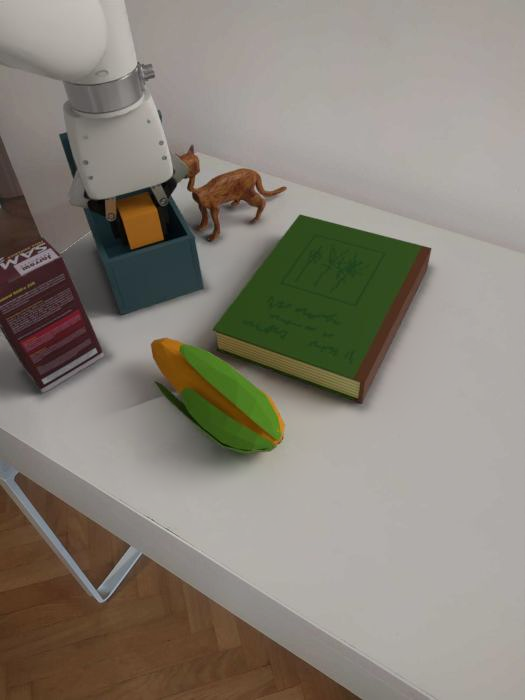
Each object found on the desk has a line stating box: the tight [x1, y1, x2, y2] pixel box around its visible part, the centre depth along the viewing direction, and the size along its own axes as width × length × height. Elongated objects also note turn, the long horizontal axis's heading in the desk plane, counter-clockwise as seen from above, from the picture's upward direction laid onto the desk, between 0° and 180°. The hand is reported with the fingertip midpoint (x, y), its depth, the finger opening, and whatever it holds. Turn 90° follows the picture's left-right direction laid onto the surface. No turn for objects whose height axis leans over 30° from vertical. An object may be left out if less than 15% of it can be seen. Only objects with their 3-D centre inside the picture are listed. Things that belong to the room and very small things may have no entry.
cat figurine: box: [173, 144, 288, 242], centre depth 82 cm, size 18×7×14 cm, turn 127°
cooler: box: [82, 187, 204, 316], centre depth 77 cm, size 14×11×9 cm
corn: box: [150, 337, 286, 454], centre depth 61 cm, size 7×8×20 cm
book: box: [211, 214, 433, 404], centre depth 72 cm, size 25×19×4 cm
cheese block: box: [116, 192, 164, 249], centre depth 70 cm, size 4×4×4 cm
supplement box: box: [0, 236, 105, 394], centre depth 63 cm, size 9×5×16 cm, turn 130°
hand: (142, 233), depth 71 cm, fingers closed on cheese block, 4 cm apart
